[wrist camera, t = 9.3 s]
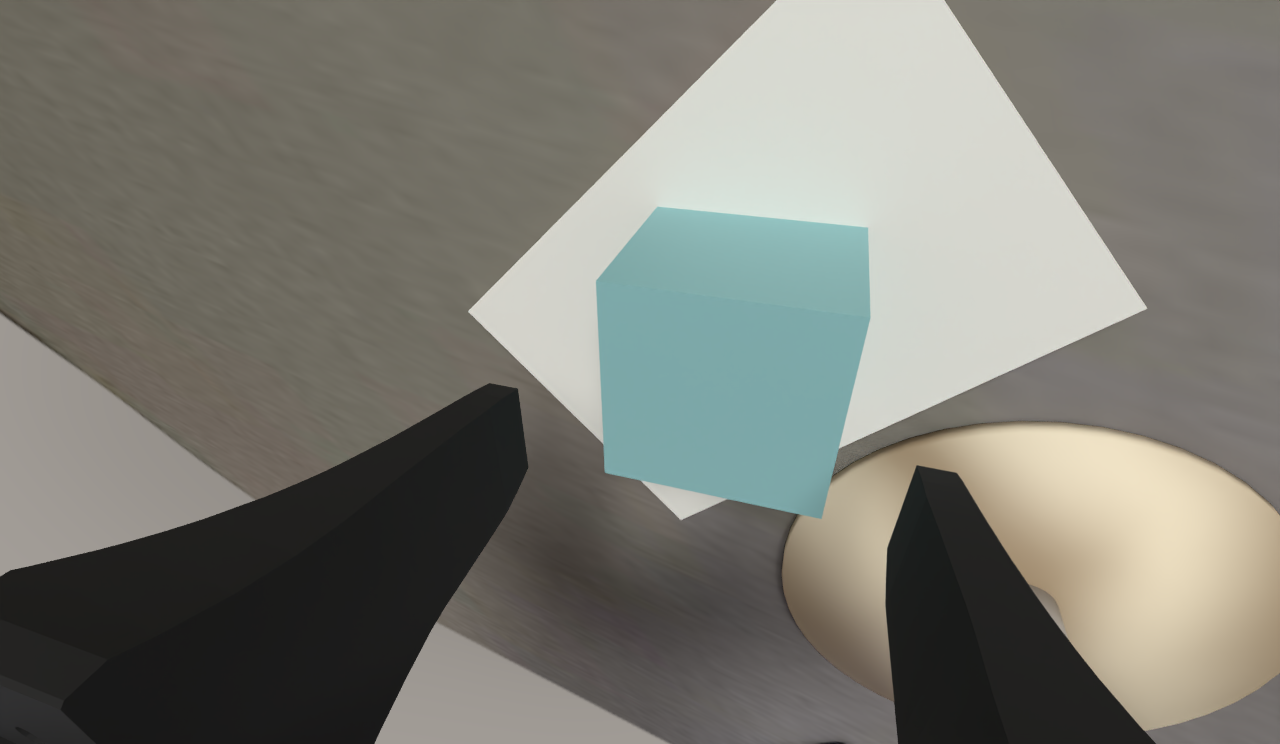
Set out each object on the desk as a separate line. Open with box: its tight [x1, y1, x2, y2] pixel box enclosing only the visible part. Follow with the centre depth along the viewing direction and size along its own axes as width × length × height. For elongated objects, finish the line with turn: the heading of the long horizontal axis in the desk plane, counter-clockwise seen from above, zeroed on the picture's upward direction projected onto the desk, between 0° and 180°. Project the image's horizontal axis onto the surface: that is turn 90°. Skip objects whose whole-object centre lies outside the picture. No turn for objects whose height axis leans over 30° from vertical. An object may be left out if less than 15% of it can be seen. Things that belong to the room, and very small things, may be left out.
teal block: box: [596, 207, 871, 519], centre depth 14 cm, size 5×5×4 cm
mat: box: [468, 0, 1147, 520], centre depth 16 cm, size 14×10×1 cm
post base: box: [782, 421, 1280, 731], centre depth 18 cm, size 14×14×4 cm
